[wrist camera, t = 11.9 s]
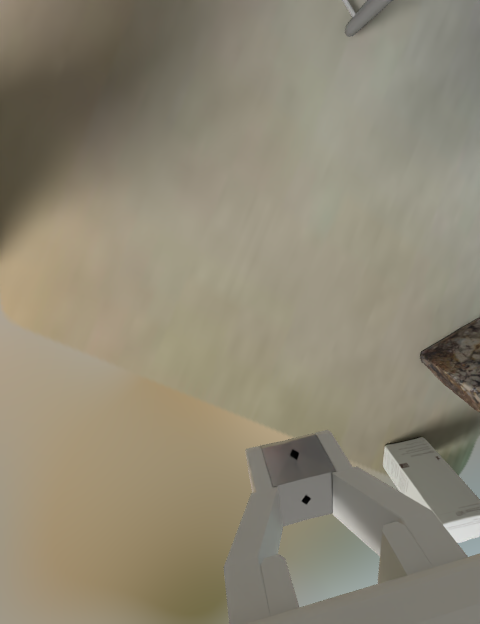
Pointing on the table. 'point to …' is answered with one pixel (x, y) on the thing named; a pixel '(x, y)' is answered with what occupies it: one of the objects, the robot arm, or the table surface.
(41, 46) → the table surface
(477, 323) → the stone block
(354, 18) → the newton's cradle
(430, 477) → the skincare box
